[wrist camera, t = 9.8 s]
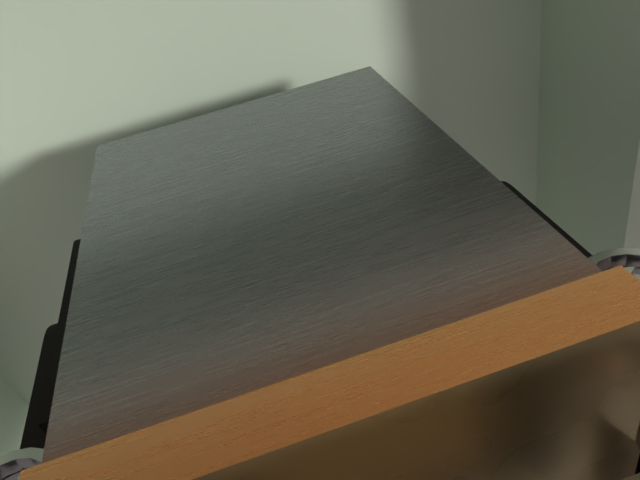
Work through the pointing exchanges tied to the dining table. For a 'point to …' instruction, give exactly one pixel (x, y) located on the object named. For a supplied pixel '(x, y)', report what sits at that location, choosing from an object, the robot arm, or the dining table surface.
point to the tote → (291, 72)
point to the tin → (333, 309)
